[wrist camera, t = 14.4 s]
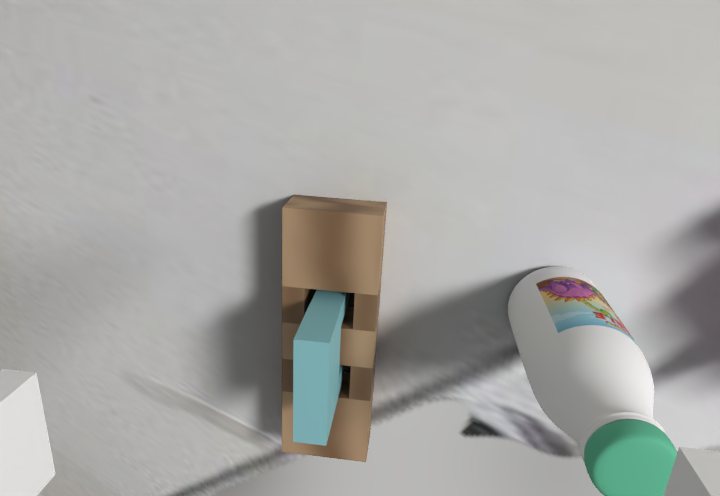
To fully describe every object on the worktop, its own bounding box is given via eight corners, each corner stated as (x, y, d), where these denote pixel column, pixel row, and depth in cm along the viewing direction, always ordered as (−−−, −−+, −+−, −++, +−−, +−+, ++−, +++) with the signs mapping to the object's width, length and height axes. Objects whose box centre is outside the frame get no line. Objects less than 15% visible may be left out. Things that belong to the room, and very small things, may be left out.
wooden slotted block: (291, 423, 54) (281, 451, 50) (293, 194, 46) (282, 207, 42) (369, 433, 53) (365, 462, 50) (386, 202, 45) (383, 215, 41)
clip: (319, 363, 51) (292, 441, 41) (321, 278, 48) (293, 339, 38) (346, 366, 51) (326, 445, 41) (349, 280, 48) (329, 343, 38)
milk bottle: (552, 358, 48) (634, 552, 30) (487, 309, 47) (529, 476, 29) (617, 299, 46) (751, 470, 27) (550, 245, 45) (640, 385, 26)
